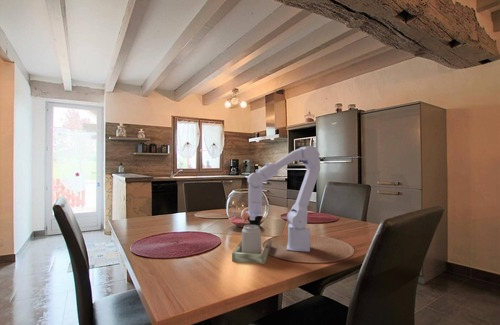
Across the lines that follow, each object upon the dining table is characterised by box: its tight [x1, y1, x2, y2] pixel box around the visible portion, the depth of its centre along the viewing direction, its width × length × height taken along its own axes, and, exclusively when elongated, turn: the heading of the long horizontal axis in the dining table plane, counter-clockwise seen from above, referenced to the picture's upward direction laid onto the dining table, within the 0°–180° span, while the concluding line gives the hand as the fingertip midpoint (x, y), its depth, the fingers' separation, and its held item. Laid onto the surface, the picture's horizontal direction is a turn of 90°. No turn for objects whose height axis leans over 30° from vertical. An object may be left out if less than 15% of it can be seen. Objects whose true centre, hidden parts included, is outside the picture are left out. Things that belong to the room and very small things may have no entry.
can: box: [241, 224, 262, 254], centre depth 103 cm, size 8×8×12 cm
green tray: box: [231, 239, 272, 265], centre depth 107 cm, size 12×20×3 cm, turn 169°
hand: (255, 233), depth 111 cm, fingers closed
